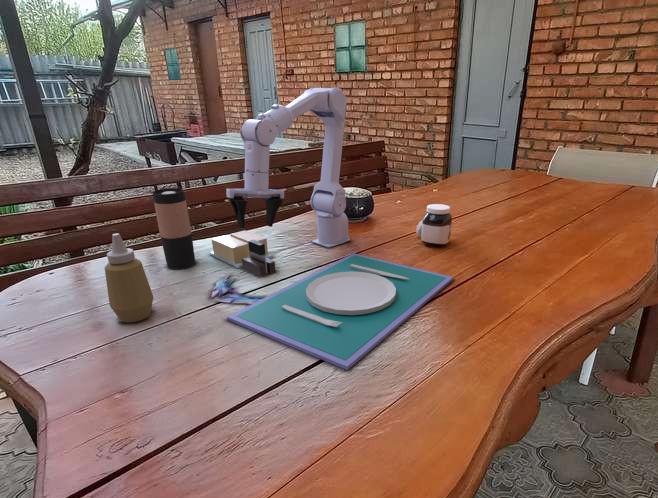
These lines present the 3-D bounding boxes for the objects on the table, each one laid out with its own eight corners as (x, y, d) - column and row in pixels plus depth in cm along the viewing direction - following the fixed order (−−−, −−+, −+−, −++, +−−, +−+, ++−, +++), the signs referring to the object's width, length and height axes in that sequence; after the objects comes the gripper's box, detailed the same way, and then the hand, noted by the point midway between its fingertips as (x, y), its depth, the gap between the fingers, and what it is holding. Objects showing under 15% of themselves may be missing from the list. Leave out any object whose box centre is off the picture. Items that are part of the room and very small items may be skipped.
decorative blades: (195, 283, 102) (233, 272, 108) (195, 286, 103) (233, 275, 109) (232, 312, 89) (273, 298, 95) (232, 316, 89) (273, 301, 95)
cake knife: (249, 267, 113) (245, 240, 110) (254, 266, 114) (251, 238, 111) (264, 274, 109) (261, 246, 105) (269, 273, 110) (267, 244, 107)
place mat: (347, 370, 72) (347, 359, 71) (227, 320, 87) (226, 310, 86) (453, 280, 106) (453, 271, 105) (353, 255, 121) (353, 248, 120)
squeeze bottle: (113, 329, 84) (90, 243, 76) (114, 312, 90) (92, 231, 83) (158, 320, 87) (139, 237, 80) (155, 304, 94) (138, 225, 86)
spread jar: (441, 250, 125) (444, 212, 120) (406, 244, 130) (408, 207, 126) (455, 239, 134) (459, 203, 130) (422, 233, 140) (425, 199, 135)
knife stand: (258, 264, 115) (257, 253, 114) (275, 271, 110) (274, 261, 109) (242, 268, 112) (241, 258, 111) (260, 277, 107) (259, 266, 106)
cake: (243, 245, 129) (241, 228, 127) (272, 257, 120) (271, 239, 118) (210, 254, 122) (207, 237, 120) (238, 268, 112) (236, 249, 110)
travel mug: (159, 267, 113) (144, 192, 105) (180, 257, 120) (168, 186, 112) (182, 271, 111) (168, 195, 103) (202, 261, 117) (191, 189, 109)
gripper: (235, 171, 96) (234, 230, 100) (291, 174, 105) (288, 228, 109) (223, 168, 101) (222, 225, 105) (277, 171, 110) (275, 223, 114)
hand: (255, 226), depth 107 cm, fingers open, 7 cm apart
